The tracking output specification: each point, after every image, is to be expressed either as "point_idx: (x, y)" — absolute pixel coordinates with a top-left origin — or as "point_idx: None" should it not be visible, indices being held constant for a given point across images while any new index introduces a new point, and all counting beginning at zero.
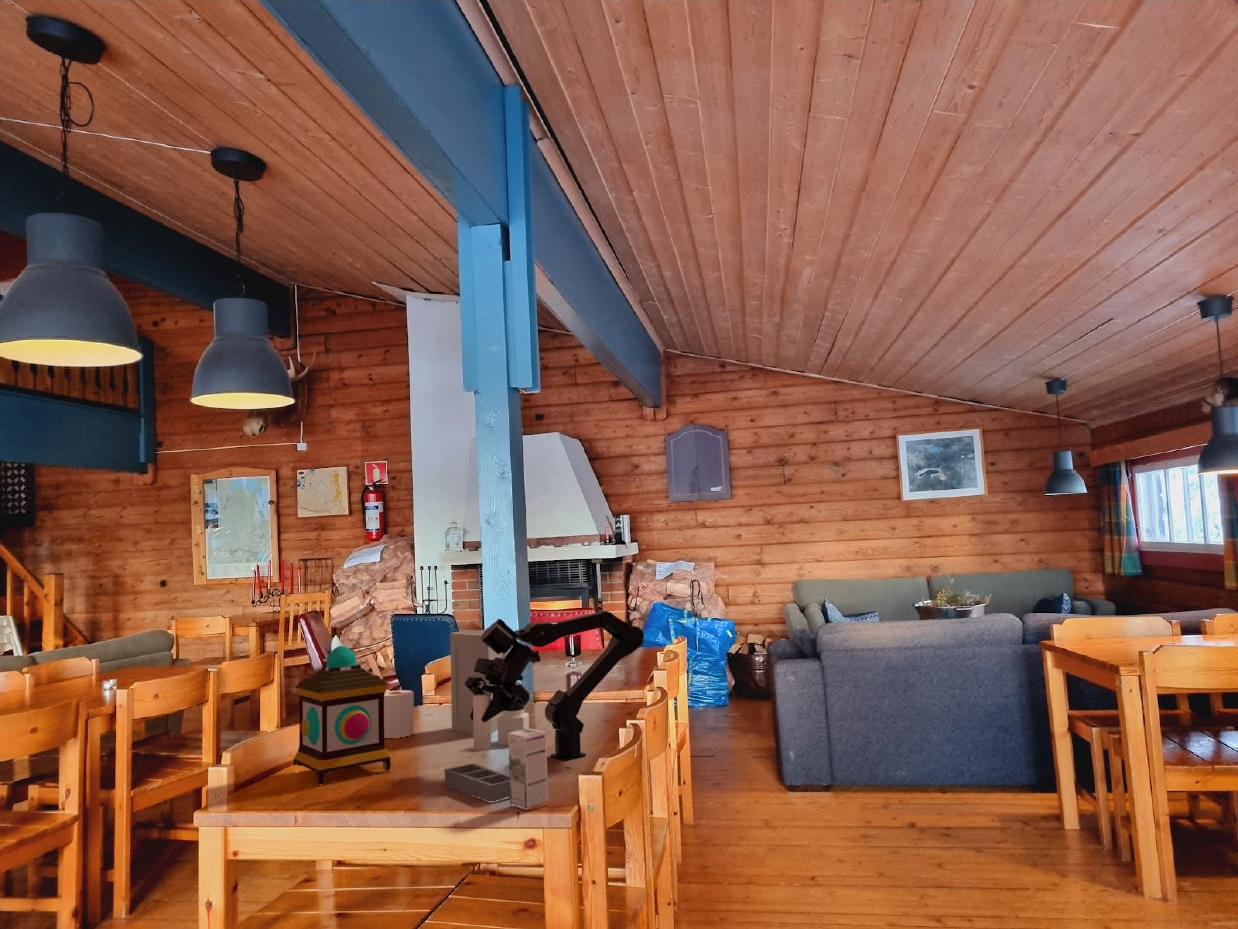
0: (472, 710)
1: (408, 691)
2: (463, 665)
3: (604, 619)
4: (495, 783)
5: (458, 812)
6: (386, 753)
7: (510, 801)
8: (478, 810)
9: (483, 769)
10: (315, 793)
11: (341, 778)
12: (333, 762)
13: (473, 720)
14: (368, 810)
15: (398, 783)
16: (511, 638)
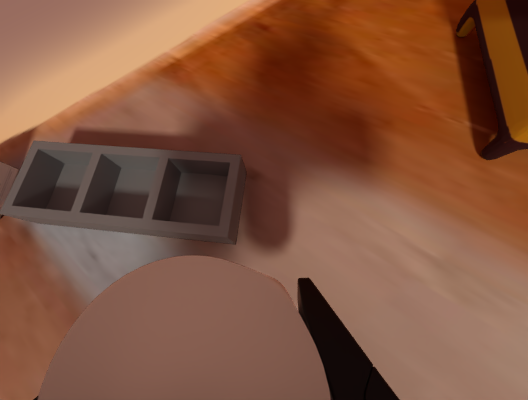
0: (327, 313)
1: None
2: None
3: None
4: (33, 156)
5: (88, 101)
6: (522, 125)
7: (9, 165)
8: (63, 125)
9: (147, 214)
10: (404, 13)
11: None
12: (494, 7)
13: (268, 276)
14: (229, 29)
15: (352, 125)
16: None
